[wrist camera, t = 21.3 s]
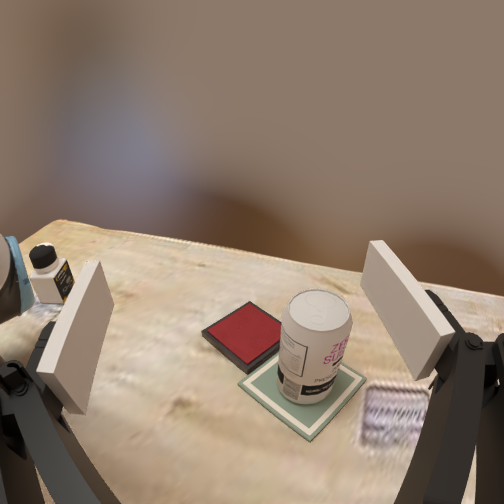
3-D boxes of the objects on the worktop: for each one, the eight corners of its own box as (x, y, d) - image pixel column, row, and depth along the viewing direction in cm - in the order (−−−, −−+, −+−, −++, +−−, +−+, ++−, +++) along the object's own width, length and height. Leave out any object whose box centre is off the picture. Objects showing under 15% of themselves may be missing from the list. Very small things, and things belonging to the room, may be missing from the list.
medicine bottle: (64, 304, 56) (45, 256, 49) (40, 303, 55) (20, 257, 49) (76, 283, 62) (60, 238, 55) (52, 284, 61) (35, 239, 55)
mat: (237, 384, 42) (237, 382, 42) (298, 337, 50) (298, 334, 50) (309, 442, 34) (310, 440, 33) (365, 379, 42) (366, 377, 41)
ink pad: (202, 335, 50) (201, 329, 50) (249, 306, 57) (249, 299, 56) (247, 374, 44) (247, 369, 43) (295, 336, 50) (296, 330, 49)
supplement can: (283, 357, 46) (290, 280, 38) (335, 366, 44) (356, 291, 36) (269, 399, 39) (274, 327, 31) (328, 411, 37) (353, 340, 29)
